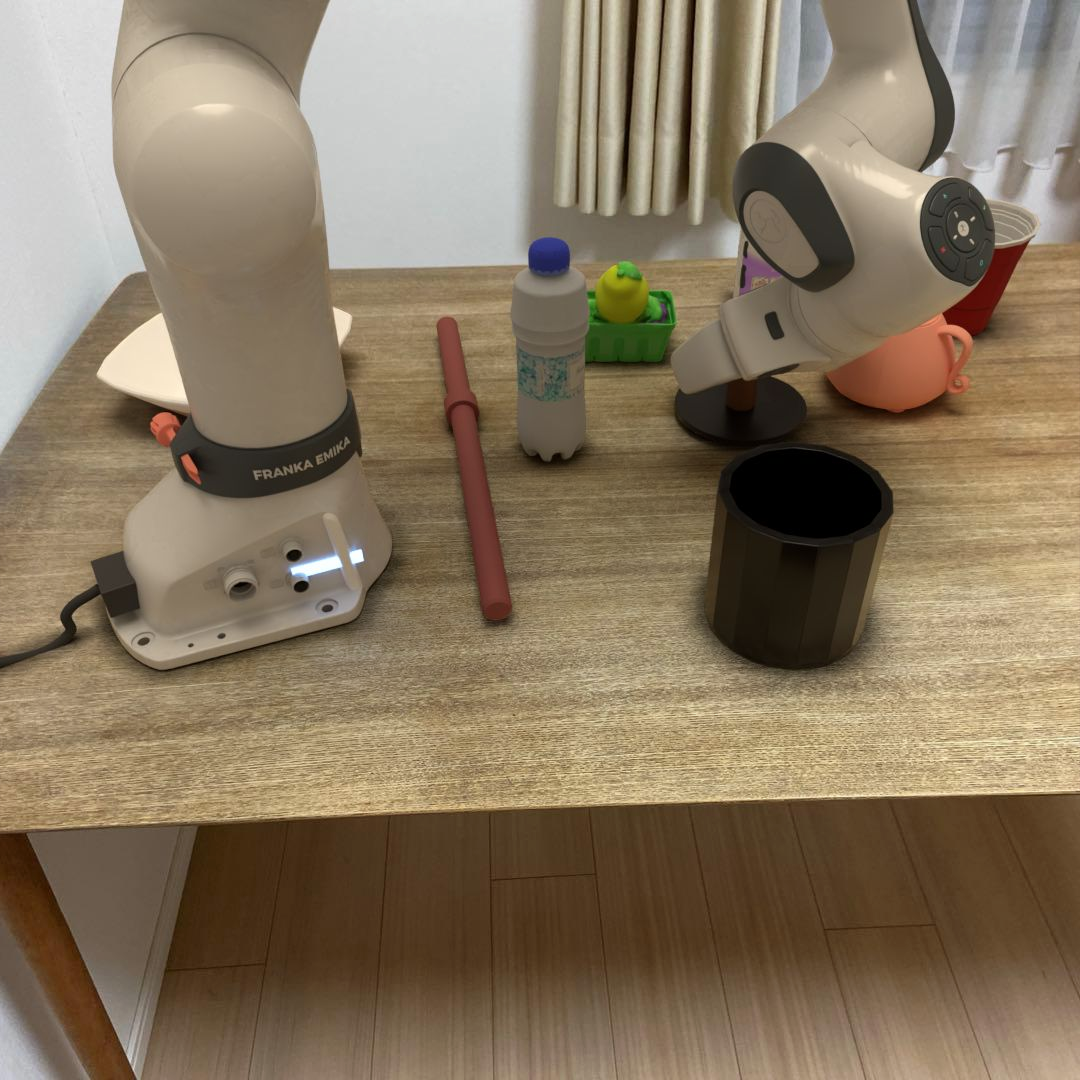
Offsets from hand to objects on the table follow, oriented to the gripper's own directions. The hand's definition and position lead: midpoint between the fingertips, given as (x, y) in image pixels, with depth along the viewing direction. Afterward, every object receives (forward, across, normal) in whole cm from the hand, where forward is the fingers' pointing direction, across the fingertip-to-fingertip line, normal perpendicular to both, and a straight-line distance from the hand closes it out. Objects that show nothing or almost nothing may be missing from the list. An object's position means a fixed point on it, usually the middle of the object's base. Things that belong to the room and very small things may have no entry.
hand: (740, 366), depth 95 cm
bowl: (+23, +41, -16) cm, 50 cm away
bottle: (+6, +18, +1) cm, 19 cm away
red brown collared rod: (+8, +26, 0) cm, 27 cm away
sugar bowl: (0, -15, +7) cm, 17 cm away
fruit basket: (+14, +4, -7) cm, 16 cm away
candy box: (+13, -18, -6) cm, 23 cm away
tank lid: (+3, 0, +4) cm, 4 cm away
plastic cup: (+5, -31, +2) cm, 31 cm away
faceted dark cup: (-14, +13, +21) cm, 28 cm away
